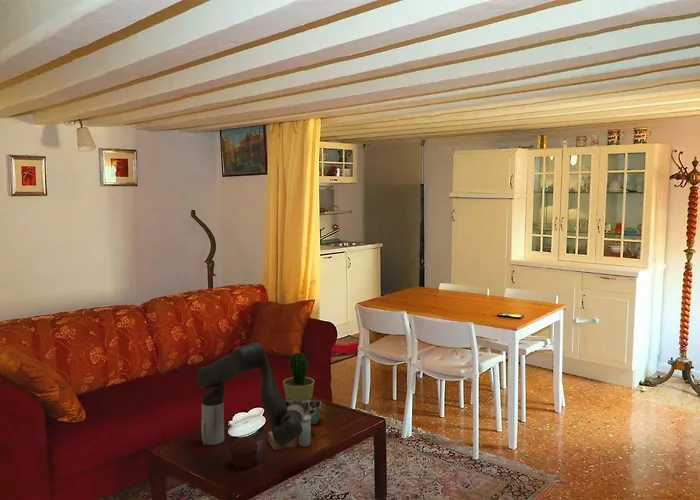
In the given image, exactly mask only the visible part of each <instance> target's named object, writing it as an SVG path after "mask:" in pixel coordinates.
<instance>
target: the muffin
mask: <svg viewBox="0 0 700 500" xmlns="http://www.w3.org/2000/svg"><path fill="white" fill-rule="evenodd" d="M258 447H259V445H258V443H257V441H256V440H255V439H253V438H252V437H249V436H240V437H238V438H236V439H235V440H233V442H231V443H230V445H229V447H228V450H229V452H230V455H231V460H232V464H233V467H236V468H237V469H242V468H243V469H247V468H249V467H253V465H255V464H256V459H257V452H258Z"/></svg>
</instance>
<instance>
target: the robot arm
mask: <svg viewBox="0 0 700 500" xmlns="http://www.w3.org/2000/svg"><path fill="white" fill-rule="evenodd" d="M268 358H269V357H268V356H267V353H266V351H265V348H264V347H263V345H262V344H261V343H259V342H254V343H253V342H252V343H249V344H246V345H243V346H242V345H241V346H240V347H237V348H236V349H234V350H233V351H232V352H231V353H229V354H227V355H225V356H222V357H221V358H219V359H218V360H216V361H214V362H213V363H211V364H209V365H208V366H202V367H200V368H199V369H198V370H197V373H196V384H197V385H198V386H199V387H200V388H202V389H205V390H206V389H210V390H209V391H208V392H206V393H205V394H203V395H202V396H201V418H200V419H201V420H200V423H201V425H200V426H201V441H202V444H203V445H209V446H210V445H211V446H214V445H218V444H219V445H220V444H221V443H224V441H225V413H224V411H225V410H224V409H225V407H224V403H225V402H224V398H225V397H224V396H225V382H226V381H228V380H232V379H234V378H236V377H237V376H238V375H240V373H243V372H248V371H251V370H255V369H257V368H258V369H259V370H260V372H261V378H262V381H261V388H260V389H261V390H260V396H261V397H260V398H261V402H262V404H263V408H264V409H265V411H266V413H267V415H268V418H269V423H270V429H271V431H272V434H273V438H274V440H275V442H276V443H277V444H278V445H280V446H285V445H287V444H288V443H290V442H291V441H293V440H294V439H295V438H299V436H300V435H301V433H302V432H303V428H302V425H301V423H302V422H303V420H304V418H305V414H306V412H307V411H308V410H311V411H312V412H315V411H316V409H317V401H318V400H315V399H314V398H313V397H312V398H310V401H304V402H299V401H292V400H291V398H289V399H287V400H286V399H285V400H284V399H283V396H282V395H281V393H280V390H279V389H278V385H277V382H276V380H275V377H274V374H273V371H272V367H271V365H270V362H269V359H268ZM309 403H310V406H309Z"/></svg>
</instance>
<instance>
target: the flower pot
mask: <svg viewBox="0 0 700 500" xmlns="http://www.w3.org/2000/svg"><path fill="white" fill-rule="evenodd" d="M316 401H317V411H316V414H315V415H314V416H312V417H311V425H317V424H318V422H319V419H320V415H321V409H322V407H321V406H322V400H316ZM303 402H304V401H303Z"/></svg>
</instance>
